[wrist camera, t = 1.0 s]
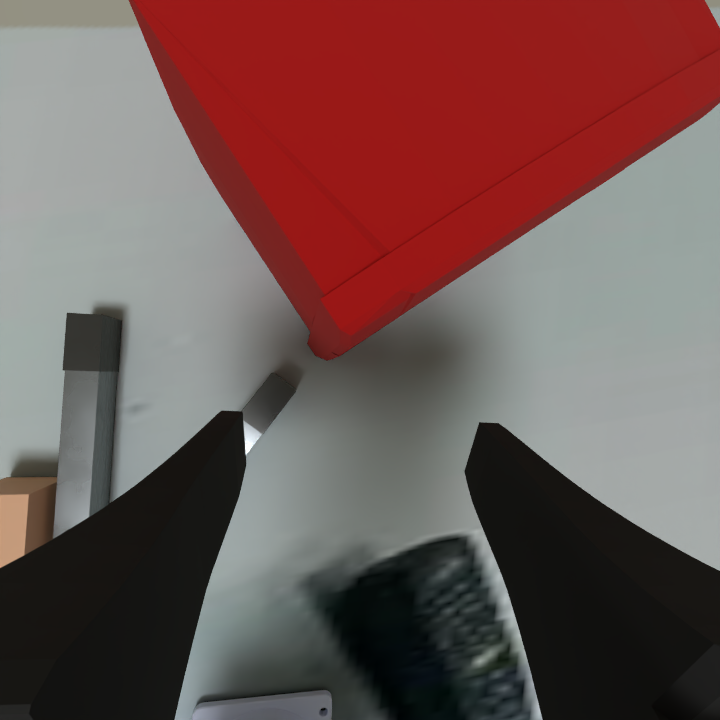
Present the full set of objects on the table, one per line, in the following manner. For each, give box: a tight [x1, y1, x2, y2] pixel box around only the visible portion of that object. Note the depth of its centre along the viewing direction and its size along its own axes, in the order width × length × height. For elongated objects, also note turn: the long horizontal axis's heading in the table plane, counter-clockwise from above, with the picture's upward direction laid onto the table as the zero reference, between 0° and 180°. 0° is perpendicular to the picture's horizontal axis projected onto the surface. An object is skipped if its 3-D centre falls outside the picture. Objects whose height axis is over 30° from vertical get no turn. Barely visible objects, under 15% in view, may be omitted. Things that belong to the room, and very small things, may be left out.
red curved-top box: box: [129, 0, 720, 361], centre depth 17 cm, size 16×11×15 cm
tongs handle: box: [53, 313, 122, 539], centre depth 20 cm, size 13×2×2 cm, turn 178°
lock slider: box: [0, 477, 57, 568], centre depth 19 cm, size 4×3×3 cm
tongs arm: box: [241, 373, 296, 454], centre depth 20 cm, size 16×3×2 cm, turn 143°
